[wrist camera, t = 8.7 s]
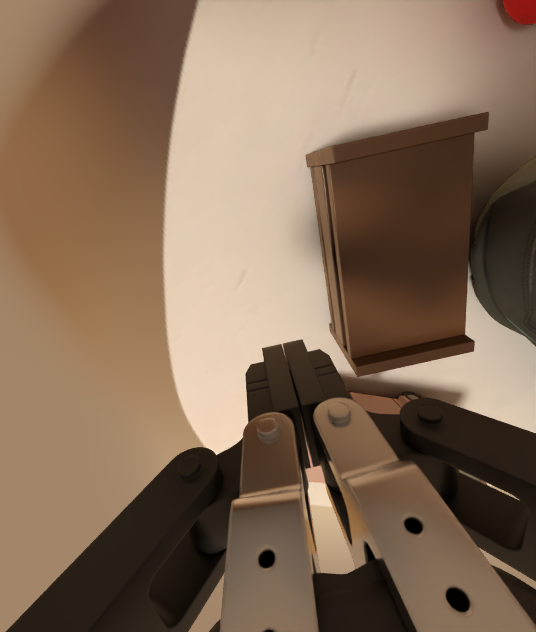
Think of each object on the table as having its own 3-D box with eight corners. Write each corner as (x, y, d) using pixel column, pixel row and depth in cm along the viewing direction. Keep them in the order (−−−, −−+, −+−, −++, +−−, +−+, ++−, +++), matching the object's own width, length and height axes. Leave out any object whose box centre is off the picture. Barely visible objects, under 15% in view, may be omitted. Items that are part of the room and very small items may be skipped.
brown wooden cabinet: (305, 155, 23) (332, 146, 16) (418, 130, 23) (489, 111, 16) (330, 331, 28) (357, 377, 22) (420, 311, 28) (474, 351, 22)
